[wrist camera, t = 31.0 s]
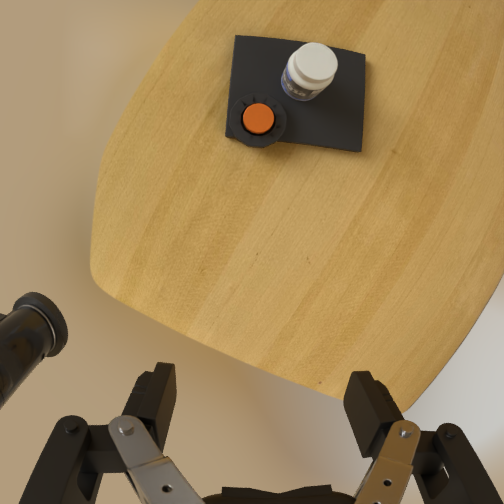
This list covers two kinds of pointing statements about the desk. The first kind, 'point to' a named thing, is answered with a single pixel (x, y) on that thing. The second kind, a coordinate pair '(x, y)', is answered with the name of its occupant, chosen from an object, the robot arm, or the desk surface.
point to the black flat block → (291, 110)
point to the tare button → (258, 118)
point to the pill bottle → (309, 71)
